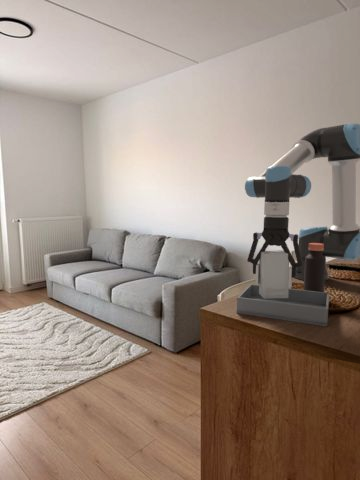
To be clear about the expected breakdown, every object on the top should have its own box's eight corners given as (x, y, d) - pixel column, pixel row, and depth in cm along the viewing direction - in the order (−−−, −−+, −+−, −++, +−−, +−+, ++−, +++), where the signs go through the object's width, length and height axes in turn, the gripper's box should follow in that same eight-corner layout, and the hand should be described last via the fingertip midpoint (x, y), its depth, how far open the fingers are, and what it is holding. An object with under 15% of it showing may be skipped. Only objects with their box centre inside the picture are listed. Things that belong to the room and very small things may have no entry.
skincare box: (282, 293, 112) (284, 249, 110) (288, 299, 106) (291, 252, 104) (257, 293, 111) (259, 249, 109) (262, 299, 105) (264, 252, 103)
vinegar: (326, 302, 116) (330, 245, 114) (306, 301, 116) (309, 245, 114) (319, 296, 123) (322, 242, 120) (300, 296, 123) (303, 242, 121)
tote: (249, 297, 121) (250, 284, 120) (328, 307, 110) (329, 292, 110) (236, 312, 105) (237, 297, 104) (327, 326, 94) (328, 309, 93)
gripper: (238, 215, 106) (236, 284, 109) (313, 217, 97) (309, 292, 100) (244, 214, 113) (242, 279, 116) (314, 216, 104) (310, 286, 107)
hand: (273, 285), depth 108 cm, fingers closed on skincare box, 9 cm apart
